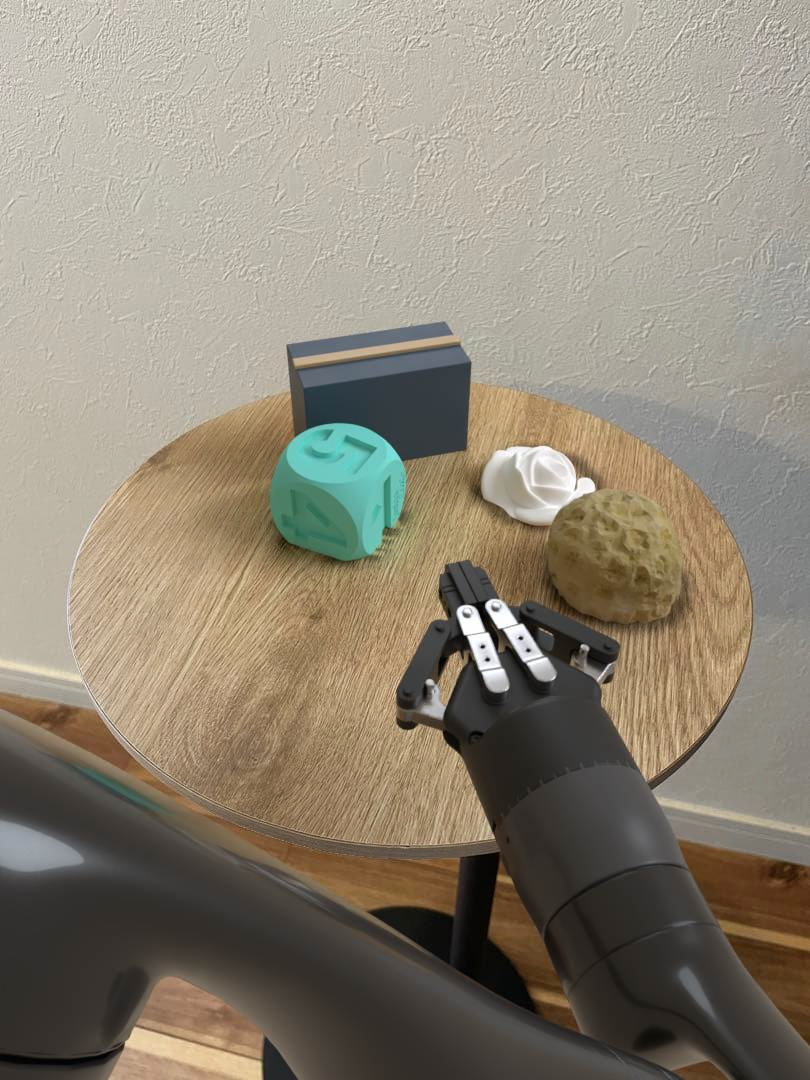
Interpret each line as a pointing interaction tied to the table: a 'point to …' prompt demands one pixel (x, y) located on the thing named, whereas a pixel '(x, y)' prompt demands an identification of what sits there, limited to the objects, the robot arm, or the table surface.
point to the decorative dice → (337, 490)
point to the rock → (615, 557)
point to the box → (386, 387)
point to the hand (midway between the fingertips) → (455, 572)
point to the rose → (532, 483)
